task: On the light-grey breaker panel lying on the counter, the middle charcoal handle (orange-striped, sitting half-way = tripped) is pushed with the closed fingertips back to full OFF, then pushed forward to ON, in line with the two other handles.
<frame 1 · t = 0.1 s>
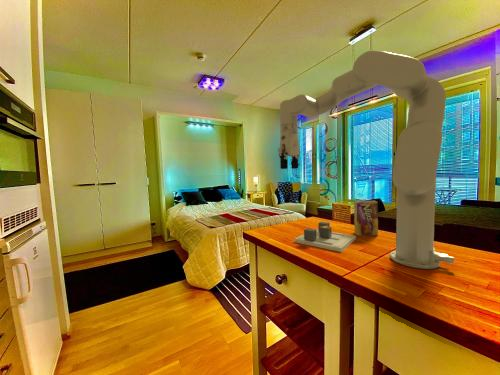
hand: (289, 168, 96), 31 cm above the worktop, tool pointing down, fingers open, 9 cm apart
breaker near: (310, 234, 88), point 4 cm above the worktop, slide at 3.5 cm
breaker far: (324, 227, 98), point 4 cm above the worktop, slide at 3.5 cm
panel: (325, 240, 91), on the worktop
candy box: (365, 234, 98), on the worktop
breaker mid: (325, 231, 91), point 4 cm above the worktop, slide at 0.0 cm
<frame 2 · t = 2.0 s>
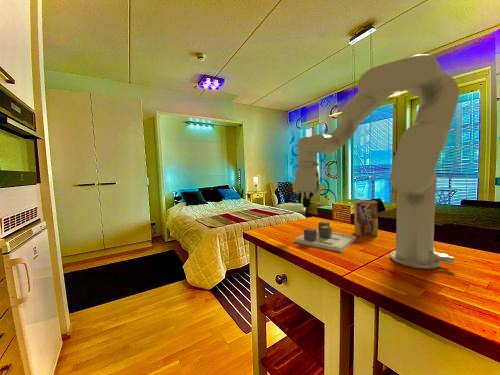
hand: (306, 207, 96), 14 cm above the worktop, tool pointing down, fingers closed
nothing on the worktop moved.
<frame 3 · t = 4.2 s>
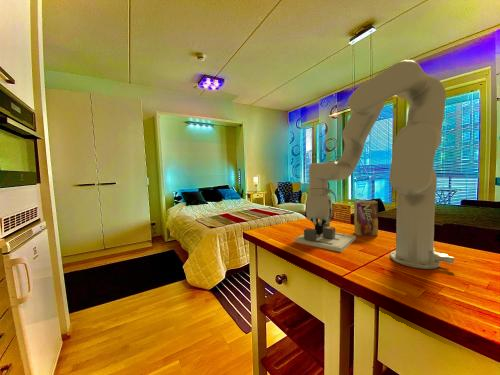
hand: (318, 234, 93), 2 cm above the worktop, tool pointing down, fingers closed
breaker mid: (329, 232, 90), point 4 cm above the worktop, slide at -1.5 cm, touching gripper
everything else where it was.
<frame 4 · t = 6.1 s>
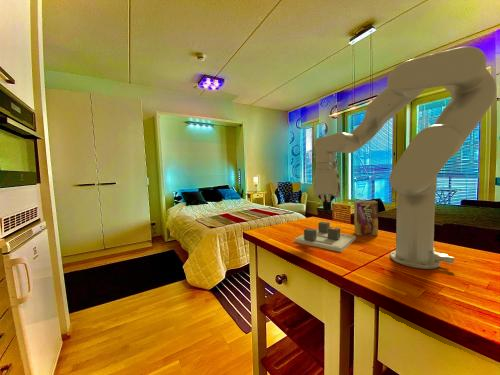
hand: (327, 211, 89), 13 cm above the worktop, tool pointing down, fingers closed
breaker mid: (333, 233, 88), point 4 cm above the worktop, slide at -3.6 cm
everything else where it was.
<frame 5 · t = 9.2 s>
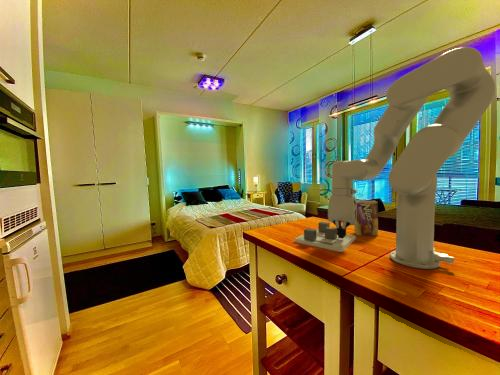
hand: (341, 237, 86), 3 cm above the worktop, tool pointing down, fingers closed
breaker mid: (330, 232, 89), point 4 cm above the worktop, slide at -2.3 cm, touching gripper
everything else where it was.
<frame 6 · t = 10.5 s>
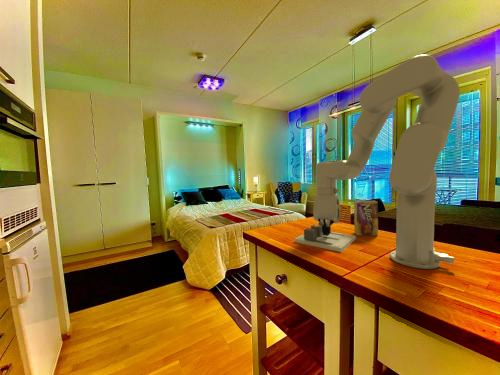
hand: (326, 234, 91), 3 cm above the worktop, tool pointing down, fingers closed
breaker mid: (316, 230, 93), point 4 cm above the worktop, slide at 3.9 cm, touching gripper
everything else where it was.
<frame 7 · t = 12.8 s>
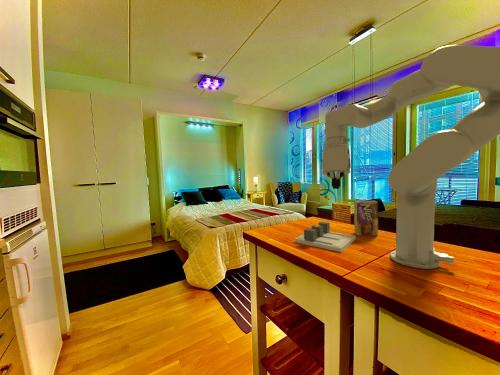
hand: (336, 188, 87), 22 cm above the worktop, tool pointing down, fingers closed
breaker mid: (317, 230, 93), point 4 cm above the worktop, slide at 3.6 cm
everything else where it was.
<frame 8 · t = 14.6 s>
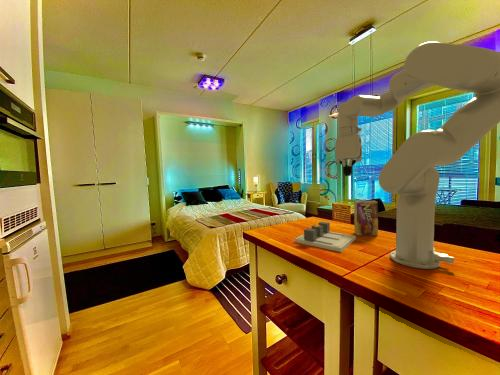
hand: (347, 175, 92), 27 cm above the worktop, tool pointing down, fingers closed
nothing on the worktop moved.
at the end: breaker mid slide at 3.6 cm; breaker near slide at 3.5 cm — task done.
